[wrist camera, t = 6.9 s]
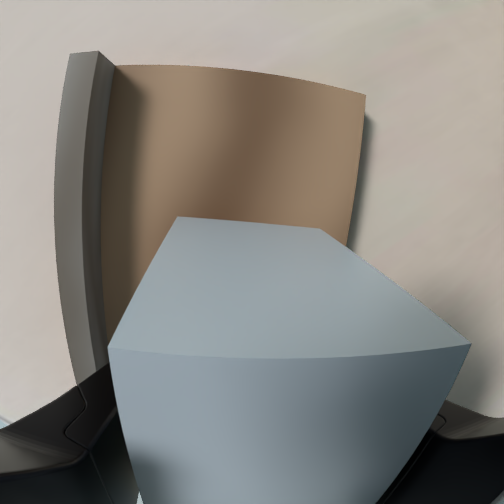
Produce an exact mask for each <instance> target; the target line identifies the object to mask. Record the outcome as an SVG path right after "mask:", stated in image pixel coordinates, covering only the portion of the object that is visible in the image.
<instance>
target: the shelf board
mask: <svg viewBox="0 0 504 504" xmlns="http://www.w3.org/2000/svg"><path fill="white" fill-rule="evenodd" d="M365 100H366V95H364V94H361V93H357V92H353V91H349V90H345V89H341V88H337V87H333V86H329V85H324V84H320V83H315V82H311V81H306V80H301V79H295V78H290V77H284V76H278V75H272V74H265V73H258V72H251V71H243V70H234V69H224V68H213V67H199V66H180V65H120V66H115V65H114V64H113V63H112V62H110V61H109V60H108V59H107V58H106V57H105V56H104V55H103V54H102V53H100V52H99V51H92V52H82V53H73V54H70V56H69V61H68V66H67V71H66V76H65V82H64V87H63V94H62V100H61V107H60V115H59V124H58V133H57V144H56V158H55V180H54V225H55V247H56V262H57V273H58V283H59V292H60V300H61V307H62V314H63V320H64V326H65V332H66V338H67V343H68V348H69V353H70V358H71V362H72V367H73V371H74V375H75V380H76V384H77V385H78V384H79V383H80V382H82V381H83V380H85V379H86V378H87V377H89V376H90V375H92V374H93V373H94V372H96V371H97V370H99V369H100V368H101V367H103V366H104V365H106V364H107V363H108V362H110V361H109V354H108V345H109V343H110V341H111V339H112V337H113V335H114V333H115V331H116V329H117V327H118V325H119V323H120V321H121V319H122V317H123V315H124V313H125V311H126V309H127V307H128V305H129V303H130V301H131V299H132V297H133V295H134V293H135V291H136V289H137V288H138V286H139V284H140V282H141V280H142V278H143V276H144V274H145V273H146V271H147V269H148V267H149V265H150V263H151V262H152V260H153V258H154V256H155V254H156V253H157V251H158V249H159V247H160V246H161V244H162V242H163V240H164V239H165V237H166V235H167V233H168V232H169V230H170V228H171V227H172V225H173V223H174V221H175V220H176V218H177V216H178V217H192V218H205V219H218V220H231V221H243V222H254V223H266V224H277V225H287V226H298V227H308V228H318V229H321V230H323V231H324V232H326V233H327V234H328V235H330V236H331V237H333V238H334V239H336V240H337V241H338V242H340V243H341V244H343V245H344V246H346V243H347V238H348V232H349V226H350V220H351V214H352V208H353V202H354V195H355V188H356V181H357V174H358V166H359V159H360V150H361V142H362V132H363V123H364V112H365Z"/></svg>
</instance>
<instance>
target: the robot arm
mask: <svg viewBox="0 0 504 504" xmlns="http://www.w3.org/2000/svg"><path fill="white" fill-rule="evenodd" d="M138 493H139V488H138V485H137V482H136V479H135V475H134V472H133V469H132V465H131V461H130V458H129V454H128V450H127V446H126V442H125V438H124V434H123V430H122V426H121V421H120V417H119V412H118V407H117V402H116V397H115V391H114V386H113V380H112V374H111V368H110V362H108V363H107V364H106V365H104V366H103V367H101V368H100V369H99V370H97V371H96V372H94V373H93V374H92V375H90V376H89V377H87V378H86V379H85V380H83V381H82V382H80V383H79V384H78V385H77V386H75V387H73V388H72V389H70V390H69V391H68V392H66V393H65V394H63V395H62V396H60V397H59V398H57V399H56V400H54V401H52V402H51V403H49V404H47V405H45V406H44V407H42V408H40V409H38V410H37V411H35V412H33V413H31V414H29V415H27V416H25V417H23V418H22V419H20V420H18V421H16V422H14V423H12V424H10V425H8V426H6V427H4V428H2V429H0V504H136V503H137V498H138ZM375 504H504V418H493V417H488V416H484V415H482V414H479V413H477V412H474V411H472V410H469V409H466V408H464V407H461V406H459V405H457V404H454V403H452V402H449V401H447V400H445V401H444V403H443V405H442V406H441V408H440V410H439V412H438V414H437V415H436V417H435V419H434V421H433V422H432V424H431V426H430V427H429V429H428V431H427V432H426V434H425V435H424V437H423V439H422V440H421V442H420V443H419V445H418V446H417V448H416V449H415V451H414V453H413V454H412V455H411V457H410V458H409V460H408V461H407V463H406V464H405V466H404V467H403V468H402V470H401V471H400V473H399V474H398V475H397V477H396V478H395V479H394V481H393V482H392V483H391V485H390V486H389V487H388V488H387V490H386V491H385V492H384V494H383V495H382V496H381V497H380V498H379V500H378V501H377V502H376V503H375Z"/></svg>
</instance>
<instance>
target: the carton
mask: <svg viewBox="0 0 504 504" xmlns="http://www.w3.org/2000/svg"><path fill="white" fill-rule="evenodd" d="M471 344H472V343H470V342H469V341H468V340H467V339H466V338H464V337H463V336H462V335H461V334H460V333H458V332H457V331H456V330H455V329H453V328H452V327H451V326H450V325H449V324H447V323H446V322H445V321H444V320H442V319H441V318H440V317H439V316H437V315H436V314H435V313H434V312H432V311H431V310H430V309H428V308H427V307H426V306H425V305H423V304H422V303H421V302H420V301H418V300H417V299H416V298H414V297H413V296H412V295H410V294H409V293H408V292H407V291H405V290H404V289H403V288H401V287H400V286H399V285H397V284H396V283H395V282H393V281H392V280H391V279H389V278H388V277H387V276H385V275H384V274H383V273H381V272H380V271H379V270H377V269H376V268H375V267H373V266H372V265H370V264H369V263H368V262H366V261H365V260H364V259H362V258H361V257H359V256H358V255H357V254H355V253H354V252H353V251H351V250H350V249H348V248H347V247H346V246H344V245H343V244H341V243H340V242H338V241H337V240H336V239H334V238H333V237H331V236H330V235H328V234H327V233H326V232H324V231H323V230H321V229H318V228H308V227H298V226H287V225H277V224H266V223H254V222H243V221H231V220H218V219H205V218H192V217H178V216H177V218H176V220H175V221H174V223H173V225H172V227H171V228H170V230H169V232H168V233H167V235H166V237H165V239H164V240H163V242H162V244H161V246H160V247H159V249H158V251H157V253H156V254H155V256H154V258H153V260H152V262H151V263H150V265H149V267H148V269H147V271H146V273H145V274H144V276H143V278H142V280H141V282H140V284H139V286H138V288H137V289H136V291H135V293H134V295H133V297H132V299H131V301H130V303H129V305H128V307H127V309H126V311H125V313H124V315H123V317H122V319H121V321H120V323H119V325H118V327H117V329H116V331H115V333H114V335H113V337H112V339H111V341H110V343H109V345H108V354H109V361H110V368H111V374H112V380H113V386H114V391H115V397H116V402H117V407H118V412H119V417H120V421H121V426H122V430H123V434H124V438H125V442H126V446H127V450H128V454H129V458H130V461H131V465H132V469H133V472H134V475H135V479H136V482H137V485H138V488H139V492H140V495H141V498H142V501H143V504H375V503H376V502H377V501H378V500H379V498H380V497H381V496H382V495H383V494H384V492H385V491H386V490H387V488H388V487H389V486H390V485H391V483H392V482H393V481H394V479H395V478H396V477H397V475H398V474H399V473H400V471H401V470H402V468H403V467H404V466H405V464H406V463H407V461H408V460H409V458H410V457H411V455H412V454H413V453H414V451H415V449H416V448H417V446H418V445H419V443H420V442H421V440H422V439H423V437H424V435H425V434H426V432H427V431H428V429H429V427H430V426H431V424H432V422H433V421H434V419H435V417H436V415H437V414H438V412H439V410H440V408H441V406H442V405H443V403H444V401H445V399H446V397H447V395H448V393H449V391H450V389H451V387H452V385H453V383H454V381H455V379H456V377H457V375H458V373H459V371H460V369H461V367H462V364H463V362H464V360H465V358H466V356H467V353H468V351H469V349H470V346H471Z"/></svg>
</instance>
